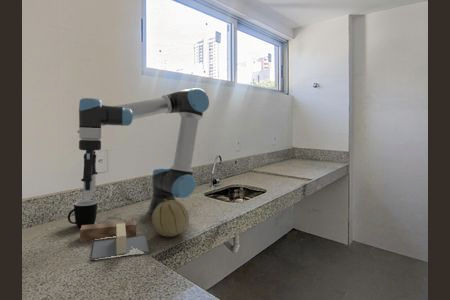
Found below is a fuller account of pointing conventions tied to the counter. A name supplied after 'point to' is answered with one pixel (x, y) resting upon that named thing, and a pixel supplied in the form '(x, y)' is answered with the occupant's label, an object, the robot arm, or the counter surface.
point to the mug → (84, 213)
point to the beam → (105, 230)
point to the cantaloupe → (170, 218)
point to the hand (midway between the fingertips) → (89, 194)
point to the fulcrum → (119, 244)
